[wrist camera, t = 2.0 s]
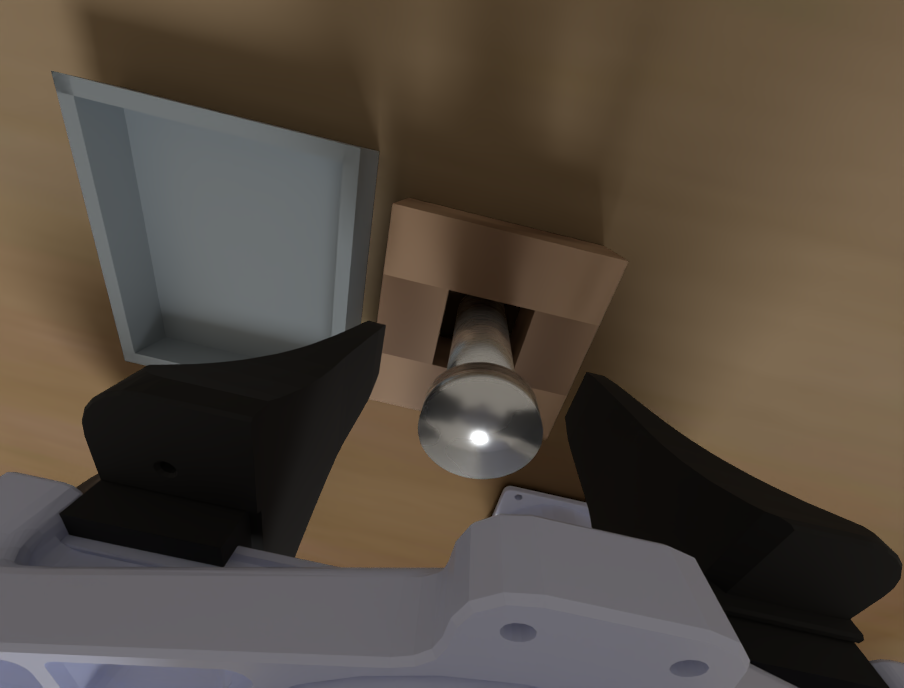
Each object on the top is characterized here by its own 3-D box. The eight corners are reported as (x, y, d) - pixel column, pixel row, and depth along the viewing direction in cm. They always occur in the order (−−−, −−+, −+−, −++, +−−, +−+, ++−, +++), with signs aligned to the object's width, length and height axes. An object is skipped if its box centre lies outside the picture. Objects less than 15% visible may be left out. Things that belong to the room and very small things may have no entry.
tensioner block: (603, 245, 16) (628, 261, 13) (538, 403, 20) (546, 439, 17) (408, 197, 15) (392, 203, 13) (382, 367, 19) (366, 398, 17)
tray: (379, 151, 15) (360, 147, 12) (354, 382, 20) (338, 409, 18) (118, 86, 14) (51, 70, 12) (165, 339, 20) (125, 360, 17)
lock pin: (524, 289, 17) (562, 399, 9) (504, 349, 18) (520, 489, 10) (455, 273, 17) (430, 368, 9) (441, 334, 18) (408, 464, 10)
